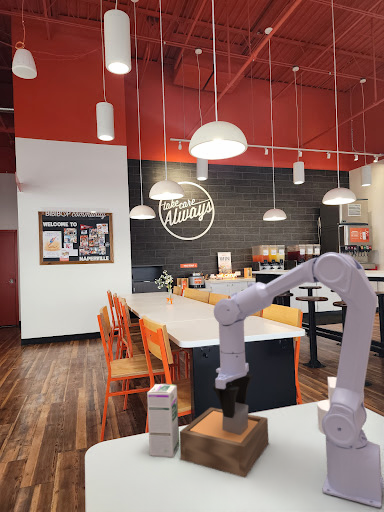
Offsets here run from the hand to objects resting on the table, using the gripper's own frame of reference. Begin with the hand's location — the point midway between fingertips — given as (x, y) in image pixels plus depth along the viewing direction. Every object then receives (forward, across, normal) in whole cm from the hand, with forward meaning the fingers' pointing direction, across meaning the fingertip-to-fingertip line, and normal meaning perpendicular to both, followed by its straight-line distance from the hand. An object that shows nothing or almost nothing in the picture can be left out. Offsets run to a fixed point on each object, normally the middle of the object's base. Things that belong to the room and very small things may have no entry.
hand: (234, 411), depth 79 cm
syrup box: (+10, +6, -16) cm, 19 cm away
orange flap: (+5, 0, -3) cm, 5 cm away
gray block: (+4, 0, 0) cm, 4 cm away
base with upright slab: (+10, -22, +18) cm, 30 cm away
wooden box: (+9, 0, -2) cm, 10 cm away
